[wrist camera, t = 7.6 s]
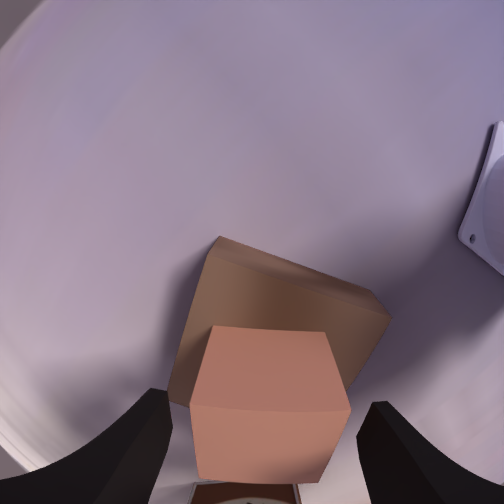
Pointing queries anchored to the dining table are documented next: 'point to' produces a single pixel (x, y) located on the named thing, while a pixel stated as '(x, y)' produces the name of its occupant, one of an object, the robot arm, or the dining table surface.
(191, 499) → the food container
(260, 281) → the walnut block
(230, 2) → the dining table surface
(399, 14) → the dining table surface
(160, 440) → the robot arm
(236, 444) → the terracotta cube
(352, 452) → the dining table surface
